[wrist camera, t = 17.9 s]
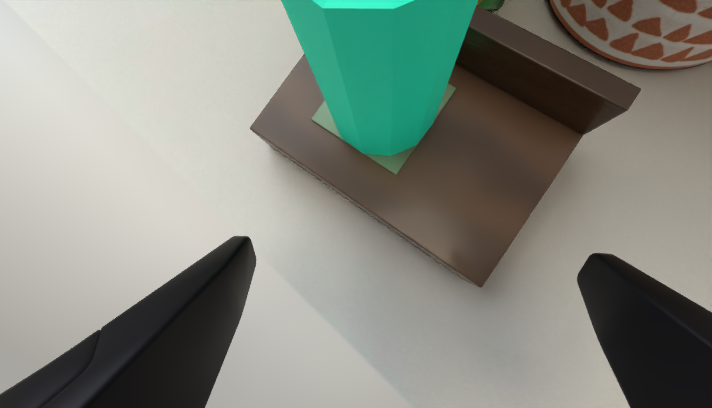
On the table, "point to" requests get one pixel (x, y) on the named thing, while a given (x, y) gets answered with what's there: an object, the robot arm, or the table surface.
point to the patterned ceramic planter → (642, 30)
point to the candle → (381, 63)
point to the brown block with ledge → (460, 143)
